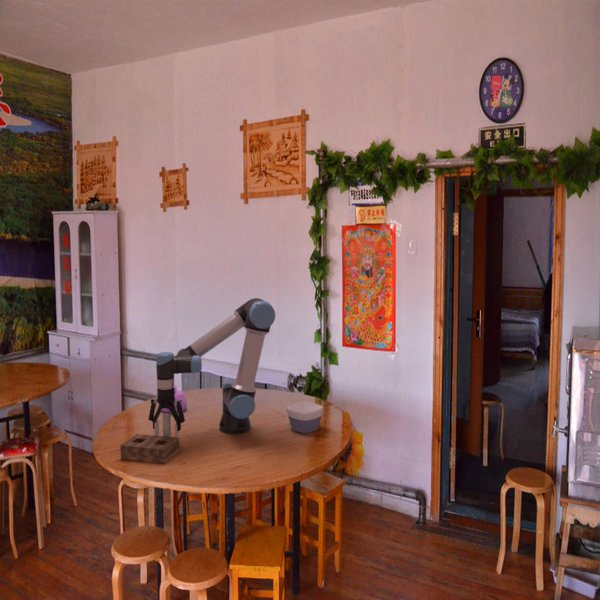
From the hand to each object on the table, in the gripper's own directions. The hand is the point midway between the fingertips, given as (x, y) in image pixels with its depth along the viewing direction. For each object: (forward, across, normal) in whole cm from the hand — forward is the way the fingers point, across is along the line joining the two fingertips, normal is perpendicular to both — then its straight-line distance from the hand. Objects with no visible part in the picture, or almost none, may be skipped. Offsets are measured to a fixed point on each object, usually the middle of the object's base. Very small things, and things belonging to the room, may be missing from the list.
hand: (167, 436), depth 264 cm
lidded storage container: (+4, -55, -35) cm, 65 cm away
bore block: (+4, +2, +12) cm, 13 cm away
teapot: (+4, +19, -48) cm, 52 cm away
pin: (+4, 0, 0) cm, 4 cm away
